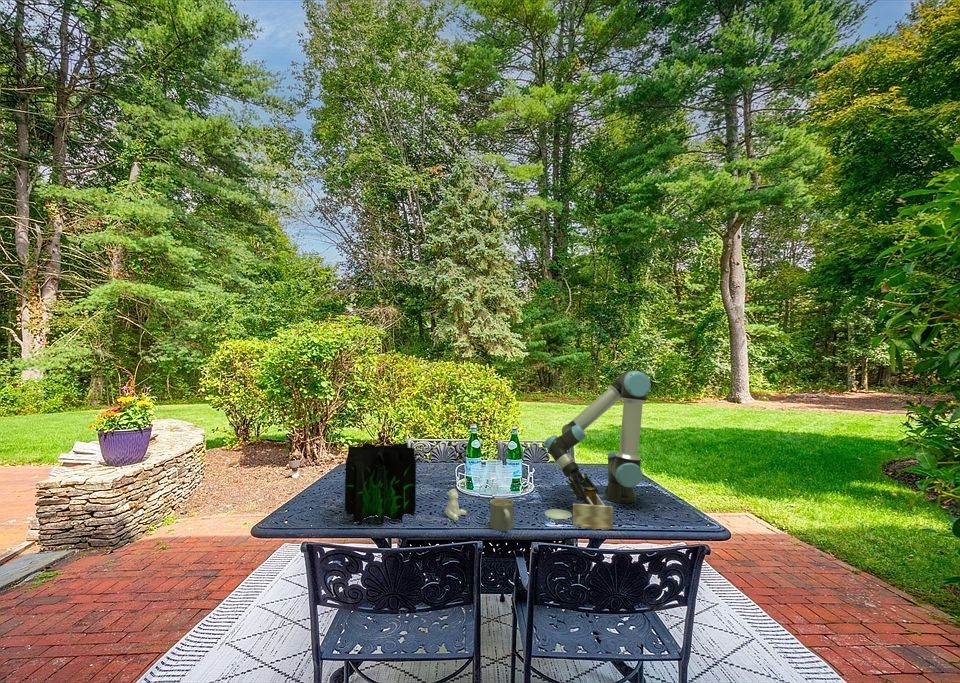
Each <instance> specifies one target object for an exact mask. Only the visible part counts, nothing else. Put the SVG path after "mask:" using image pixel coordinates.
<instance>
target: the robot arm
mask: <svg viewBox="0 0 960 683" xmlns="http://www.w3.org/2000/svg"><path fill="white" fill-rule="evenodd" d="M608 387H609V388H607V389H606V390H605V391H604V392H603V393H601V395H599V396H598V397H597V398H596V399H595V400H594V401H592V403H590V404H589V405H588V406H586V408H585V409H583V410H582V411H581V412H580V413H579V414H578V415H576V417H574V418H573V419H572V420H571V421H570V422H569V423H566V424H565V425H563V426H562V428H561V435H559V436H557V435H555V434H553V435H551V436H549V437H548V438H546V439H545V441H544V447H545V448H546V450H547V452H548V453H549V454H550V456H551V458H552V459H553V460H554V461H555V463H556V464H557V465H558V467H559V469H560V470H561V472H562V474H564V476H565V478H567V479H566V480H565V482H566V483H567V484H568V486H569V487H570V488H571V490H572V492H573V494H574V495H575V497H576V498H577V500H579V501H581V502H583V501H584V503H585V504H588V505H593V503H592V502H591V500H590V499H589V497H586V495H585V493H584V488H585V487H593V488H595V489H596V495H597V505H602V506H606V505H605V503H604V502H603V501H602V499H601V498H600V497H599V495H598V492H599V489H597V486H596V485H595V484H594V483H593V482H592V480H591V479H590V478H589V476H588V475H587V473H586V472H584V473H582V472H580V471H579V470H580V467H579V465H578V464H577V463H576V461H575V459H574V458H573V457H572V455H571V454H570V453H569V452H568V451H570V450H571V448H573V447H575V446H576V445H578V444H579V443H580V442H582V441H583V440H584V439H586V437H587V434H586V433H585V430H586V429H587V428H588V427H590V425H593V423H594V422H596V420H598V419H599V418H600V417H601V416H602V415H603V414H605V413H606V412H607V411H608V410H609V409H611V408H612V406H614V405H615V404H617V402H618V401H622V402H623V405H622V406H623V407H622V416H621V418H622V419H621V427H620V428H621V430H620V440H619V450H618V451H611V452H608V454H607V480H608V481H607V484H606V489H605V491H604V499H605V500H607V501H610V502H612V503H618V504H631V503H636V501H637V494H636V491H635V488H634V487H636V486H638V485H640V484H641V482H642V480H643V477H644V476H643V471H642V469H641V466H642V465H641V464H642V457H641V456H640V455H639V451H640V450H639V449H640V448H639V447H640V438H641V426H642V415H643V407H644V406H643V404H644V403H645V402H647V398H648V394H649V392H650V390H651V387H652V383H651V380H650V378H649V376H648V375H647V374H646V373H644V372H642V371H639V370H627V371H624V372H622V373H620V375H618V377H617V378H616V379H614V380H613V381H612V382H611V383H610V384H609V386H608Z"/></svg>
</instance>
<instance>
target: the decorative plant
mask: <svg viewBox="0 0 960 683" xmlns="http://www.w3.org/2000/svg"><path fill="white" fill-rule="evenodd" d="M408 445H409V443H408V442H404V443H401V442H400V443H395V444H394V443H393V444H391V445H384V444H382V441H381V444H379V445H378V446H376V445H375V444H373V443H370V442H369V443H368V442H362V446H352V445H351V446H348V447H347V450H348V451H347V456H346V459H345V475H344V476H345V477H344V478H345V480H344V484H345V485H344V492H345V493H344V510H345V512H346V514H347V513H348V514H353V516H352V524H353V523H354V522H358V521H359V523H360V522H362V520H363V519H364V518H367V517H369V516H375V515H377V516H378V518H377V520H379V521H381V523H380V522H379V523H378V525H380V524H383V523H384V524H385V518H384V516H387V517H389V518H391V519H399V520H401V521H402V522H403V517H404V516H403V515H404V514H411V515H413V516H414V517H415V512H416V505H417V504H416V501H417V500H416V494H417V493H416V491H417V488H416V486H417V459H416V456H415V448H414V447H408ZM348 514H347V515H348ZM411 515H410V516H411ZM363 521H364V520H363ZM362 523H363V522H362ZM384 524H383V525H384Z"/></svg>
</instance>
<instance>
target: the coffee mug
mask: <svg viewBox="0 0 960 683" xmlns="http://www.w3.org/2000/svg"><path fill="white" fill-rule="evenodd" d="M514 502H515V501H514V500H513V499H510V498H504V497H503V498H502V497H498V498H497V497H496V498H493V499H491V500H490V501H489V508H490V509H489V526H490V528H491V529H493V530H495V531H502V532H503V531H505V532H506V531H509V530H512V529H514V527H515V523H514V522H515V507H514V506H515V503H514Z"/></svg>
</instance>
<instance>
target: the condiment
mask: <svg viewBox="0 0 960 683" xmlns="http://www.w3.org/2000/svg"><path fill="white" fill-rule="evenodd" d="M583 490H584V493H585V495H586V497H589V499H590V500H591V502H592V503H593V505H597V495H598V494H597V495H596V489H595V488H593V487H585V488H584V487H583ZM582 504H585V503H584V501H583V500H582Z"/></svg>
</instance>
